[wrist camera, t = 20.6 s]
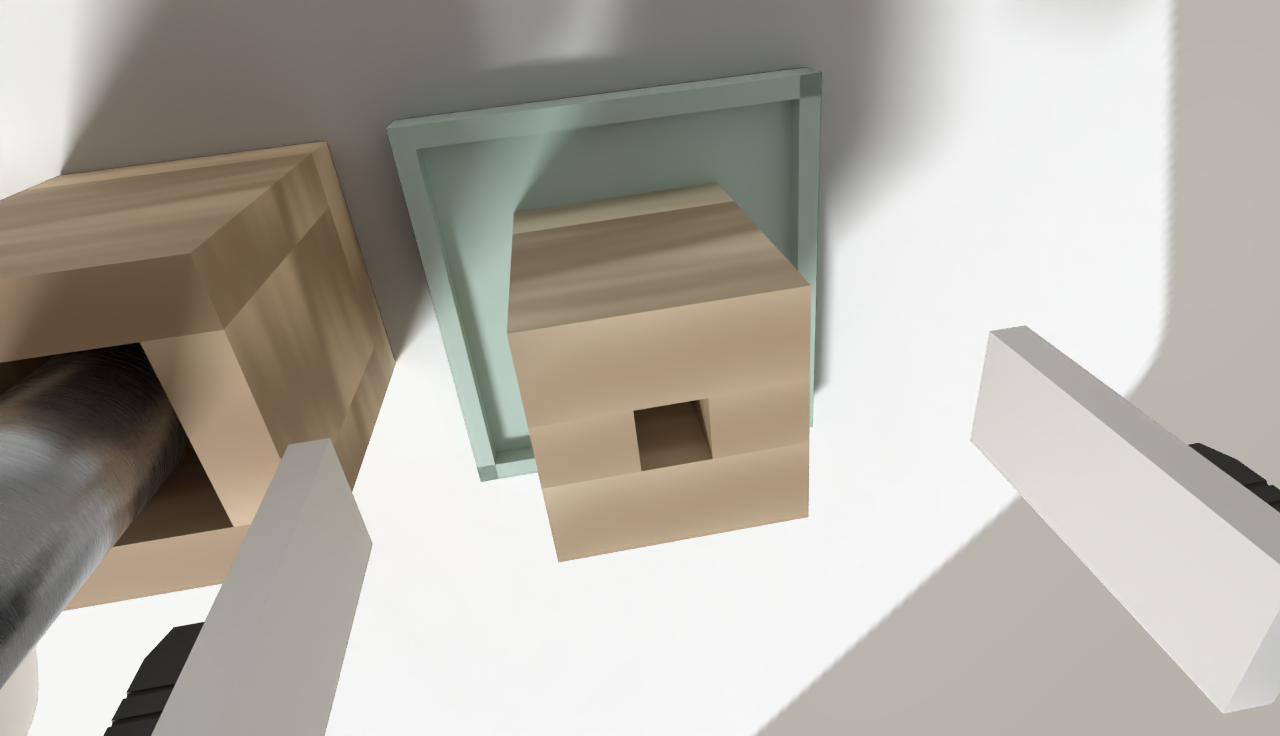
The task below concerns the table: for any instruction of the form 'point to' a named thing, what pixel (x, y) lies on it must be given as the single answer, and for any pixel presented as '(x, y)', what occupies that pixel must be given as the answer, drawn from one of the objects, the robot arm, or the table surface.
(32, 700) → the light bulb
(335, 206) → the wide-bore block
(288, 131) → the table surface
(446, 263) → the tray
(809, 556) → the table surface
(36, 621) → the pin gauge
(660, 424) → the narrow-bore block
